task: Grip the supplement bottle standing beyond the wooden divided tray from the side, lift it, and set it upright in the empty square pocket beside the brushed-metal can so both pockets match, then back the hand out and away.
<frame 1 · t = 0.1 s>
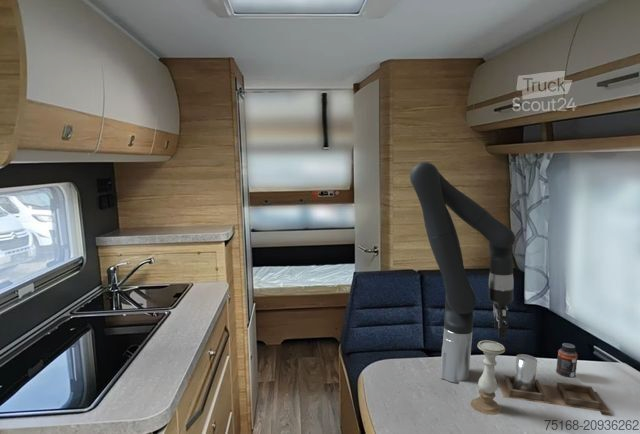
hand: (500, 333, 147), 17 cm above the table, tool pointing down, fingers open, 8 cm apart
candle holder: (485, 409, 133), on the table
wooden divided tray: (550, 397, 141), on the table
supplement bottle: (565, 376, 155), on the table
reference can: (523, 390, 142), point 1 cm above the table, touching wooden divided tray
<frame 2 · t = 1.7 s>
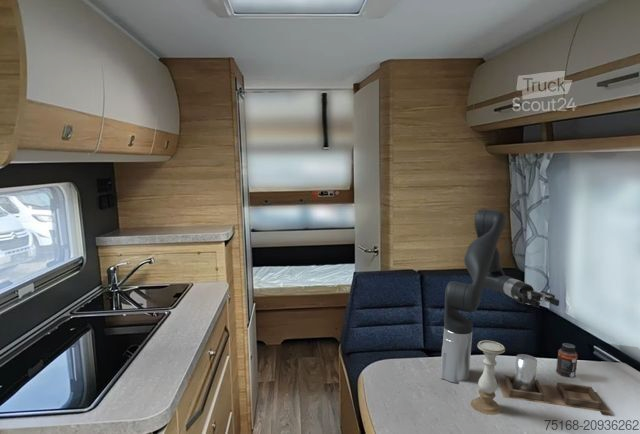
hand: (548, 304, 162), 22 cm above the table, tool horizontal, fingers open, 8 cm apart
nothing on the table moved.
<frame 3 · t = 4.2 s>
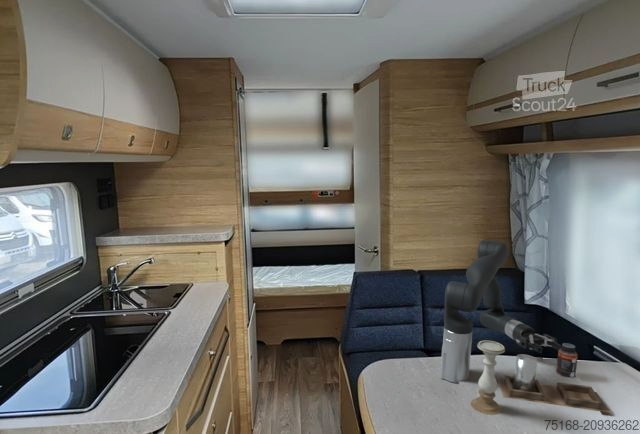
hand: (551, 349, 161), 6 cm above the table, tool horizontal, fingers open, 8 cm apart
nothing on the table moved.
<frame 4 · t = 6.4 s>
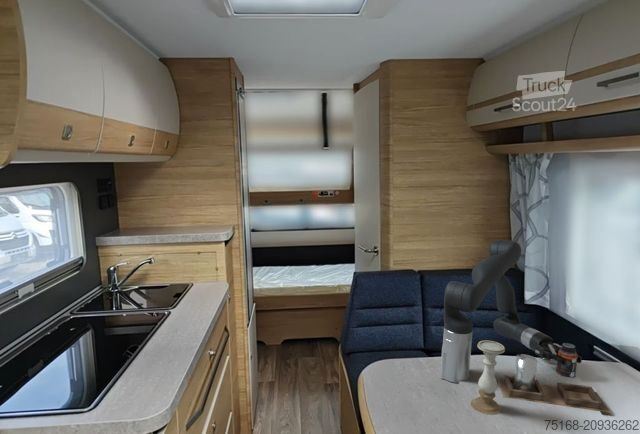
hand: (573, 361, 152), 7 cm above the table, tool horizontal, fingers closed on supplement bottle, 6 cm apart
supplement bottle: (565, 376, 155), on the table, touching gripper
everything else where it was.
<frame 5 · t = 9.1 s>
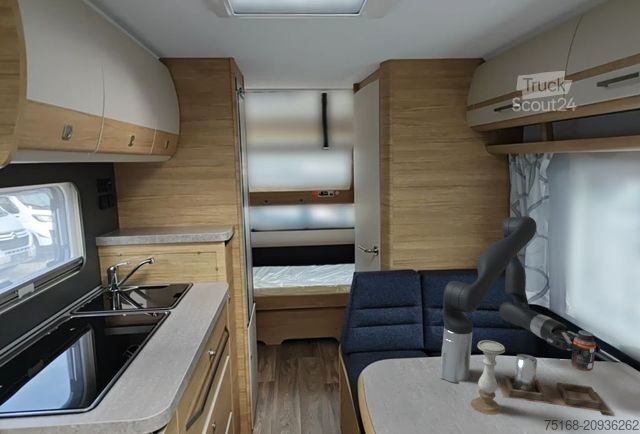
hand: (591, 350, 134), 18 cm above the table, tool horizontal, fingers closed on supplement bottle, 6 cm apart
supplement bottle: (581, 367, 137), point 11 cm above the table, touching gripper
everything else where it was.
when the fingers open (8 cm above the table, at t = 11.9 s): supplement bottle stays where it is, resting on wooden divided tray.
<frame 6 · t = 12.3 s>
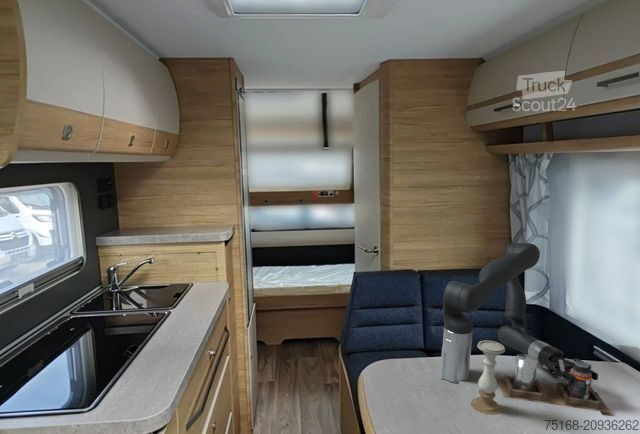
hand: (586, 378, 136), 9 cm above the table, tool horizontal, fingers open, 8 cm apart
supplement bottle: (577, 398, 139), point 1 cm above the table, touching wooden divided tray
everything else where it was.
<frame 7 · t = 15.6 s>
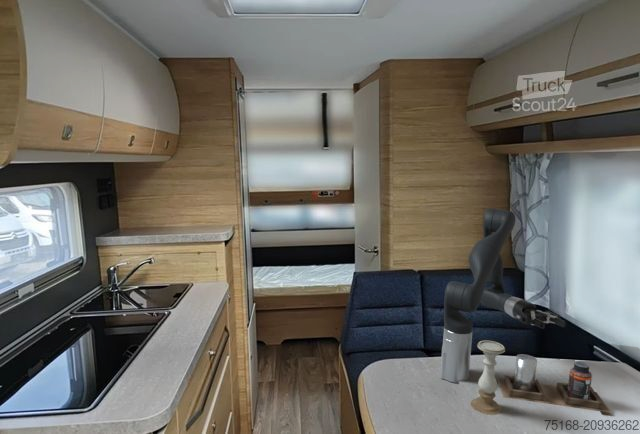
hand: (554, 325, 149), 20 cm above the table, tool horizontal, fingers open, 8 cm apart
nothing on the table moved.
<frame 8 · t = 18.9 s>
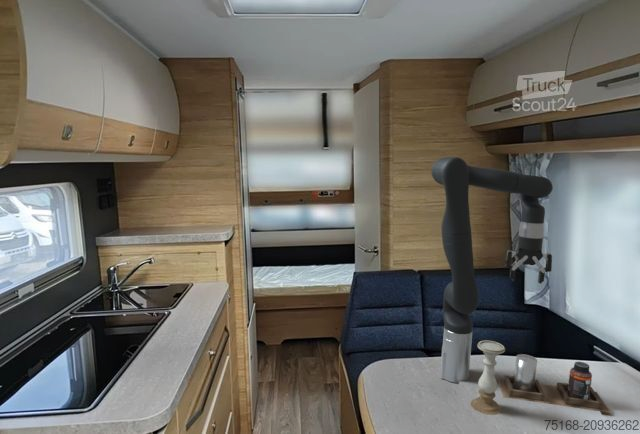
hand: (526, 281, 152), 33 cm above the table, tool pointing down, fingers open, 8 cm apart
nothing on the table moved.
at the end: supplement bottle 0.1 cm from the target spot on the wooden divided tray, point 0.8 cm above the wooden divided tray's base; supplement bottle tilted 0°; the gripper is holding nothing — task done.
